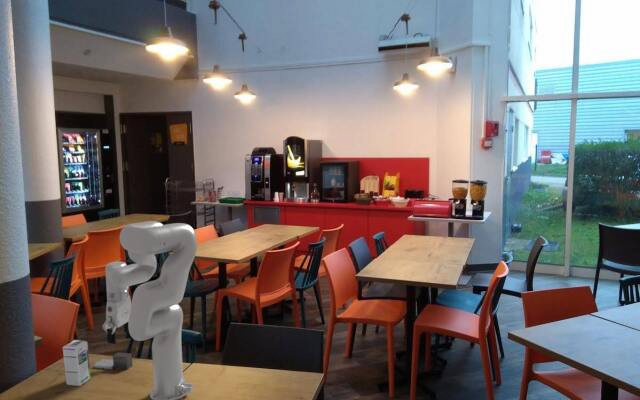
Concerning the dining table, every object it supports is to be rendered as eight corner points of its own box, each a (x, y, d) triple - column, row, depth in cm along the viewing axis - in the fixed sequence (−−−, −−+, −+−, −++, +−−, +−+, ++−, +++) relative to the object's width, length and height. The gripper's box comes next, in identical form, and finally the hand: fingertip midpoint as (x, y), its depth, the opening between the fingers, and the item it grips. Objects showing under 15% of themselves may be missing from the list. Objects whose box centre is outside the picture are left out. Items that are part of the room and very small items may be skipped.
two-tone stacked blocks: (134, 364, 180) (133, 352, 179) (125, 370, 175) (125, 358, 175) (102, 361, 183) (101, 349, 183) (93, 367, 178) (92, 355, 178)
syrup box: (80, 386, 164) (76, 347, 163) (65, 384, 165) (62, 346, 164) (91, 378, 170) (88, 340, 168) (77, 377, 171) (73, 339, 169)
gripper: (111, 303, 166) (114, 348, 168) (140, 288, 183) (142, 329, 185) (93, 301, 168) (96, 346, 170) (123, 286, 184) (125, 327, 187)
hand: (120, 337), depth 177 cm, fingers open, 9 cm apart
